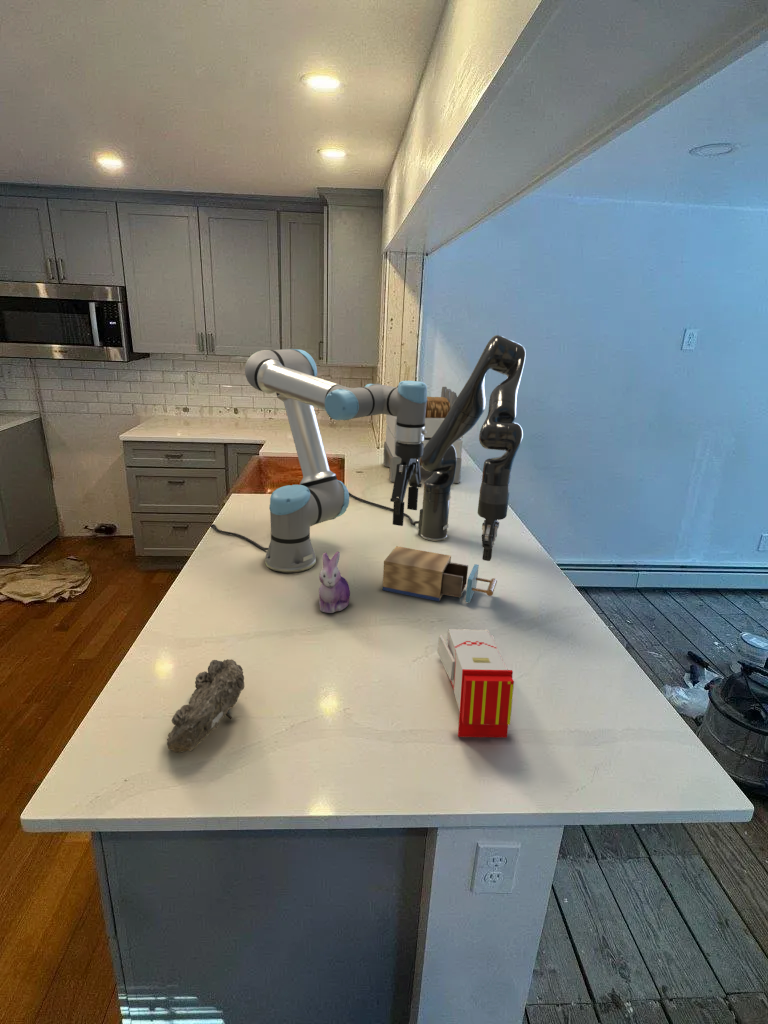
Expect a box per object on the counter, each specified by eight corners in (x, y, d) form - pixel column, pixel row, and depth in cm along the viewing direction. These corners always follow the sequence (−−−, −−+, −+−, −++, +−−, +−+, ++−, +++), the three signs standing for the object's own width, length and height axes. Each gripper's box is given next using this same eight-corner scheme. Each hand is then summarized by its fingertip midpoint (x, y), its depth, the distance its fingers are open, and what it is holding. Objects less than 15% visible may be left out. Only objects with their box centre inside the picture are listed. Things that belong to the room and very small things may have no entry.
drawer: (496, 590, 160) (499, 568, 158) (490, 607, 151) (493, 583, 149) (425, 577, 166) (426, 555, 164) (415, 592, 157) (417, 569, 155)
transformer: (382, 463, 289) (386, 382, 275) (445, 464, 293) (451, 384, 279) (390, 482, 257) (394, 392, 243) (460, 483, 261) (468, 394, 247)
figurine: (324, 618, 144) (324, 564, 139) (310, 599, 152) (310, 548, 147) (358, 610, 148) (359, 558, 143) (342, 593, 156) (343, 543, 151)
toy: (488, 613, 130) (523, 677, 101) (484, 667, 133) (517, 744, 104) (435, 612, 130) (455, 676, 101) (432, 666, 133) (451, 743, 103)
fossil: (192, 660, 117) (244, 628, 112) (224, 691, 120) (276, 661, 115) (142, 746, 98) (202, 712, 93) (182, 779, 101) (242, 748, 96)
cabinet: (448, 583, 165) (451, 555, 162) (439, 601, 155) (442, 571, 152) (394, 573, 170) (396, 546, 167) (382, 590, 160) (383, 560, 157)
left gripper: (410, 453, 137) (405, 534, 144) (435, 434, 159) (429, 505, 167) (380, 449, 139) (377, 529, 147) (409, 431, 162) (405, 501, 169)
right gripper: (505, 508, 140) (497, 571, 146) (511, 493, 152) (504, 552, 157) (474, 504, 142) (468, 566, 148) (483, 489, 154) (477, 548, 160)
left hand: (405, 516), depth 157 cm, fingers open, 13 cm apart
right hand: (486, 559), depth 153 cm, fingers closed
